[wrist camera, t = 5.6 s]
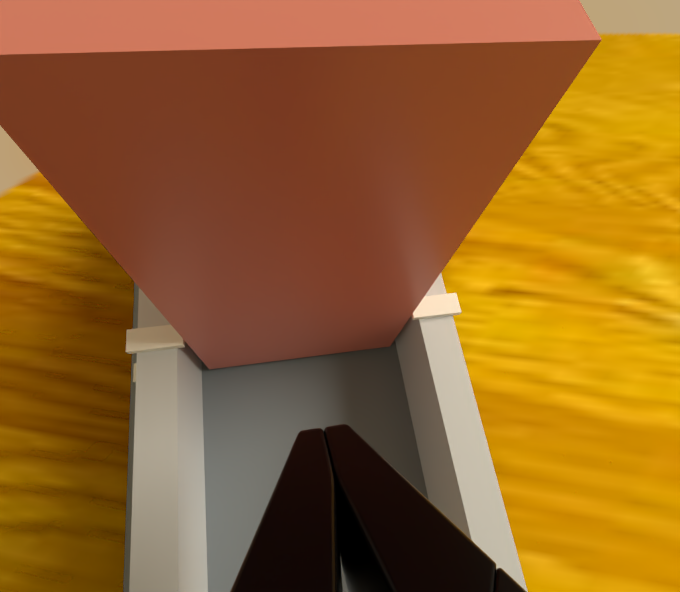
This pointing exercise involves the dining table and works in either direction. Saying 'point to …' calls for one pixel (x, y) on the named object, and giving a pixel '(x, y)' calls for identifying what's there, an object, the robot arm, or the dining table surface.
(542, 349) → the dining table surface
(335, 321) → the plug
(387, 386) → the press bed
